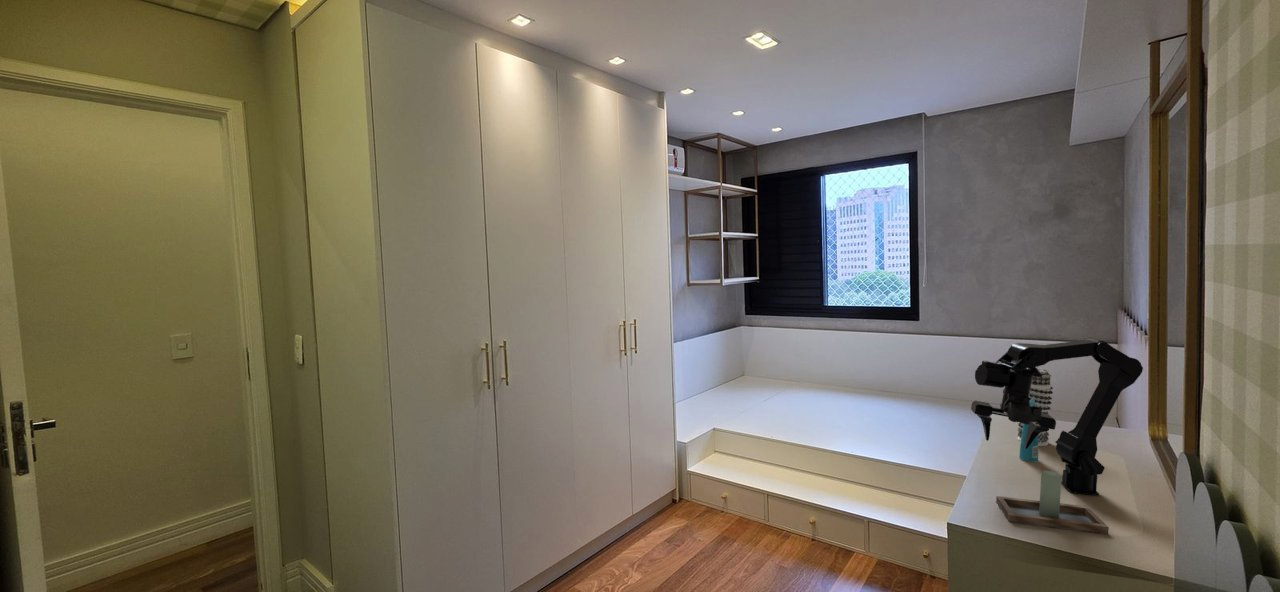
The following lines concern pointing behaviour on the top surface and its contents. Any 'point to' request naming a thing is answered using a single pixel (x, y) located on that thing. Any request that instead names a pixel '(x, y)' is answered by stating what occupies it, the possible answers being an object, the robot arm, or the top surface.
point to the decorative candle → (1040, 401)
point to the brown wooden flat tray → (1068, 518)
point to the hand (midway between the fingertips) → (1006, 444)
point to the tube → (1032, 450)
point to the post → (1050, 494)
